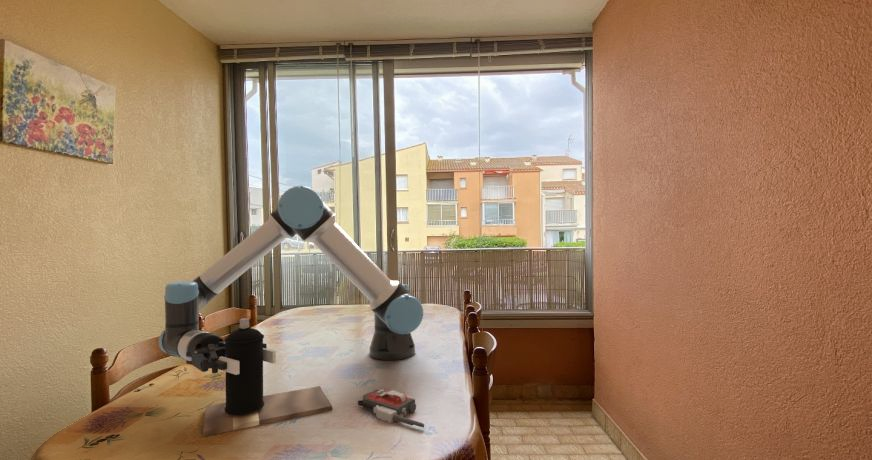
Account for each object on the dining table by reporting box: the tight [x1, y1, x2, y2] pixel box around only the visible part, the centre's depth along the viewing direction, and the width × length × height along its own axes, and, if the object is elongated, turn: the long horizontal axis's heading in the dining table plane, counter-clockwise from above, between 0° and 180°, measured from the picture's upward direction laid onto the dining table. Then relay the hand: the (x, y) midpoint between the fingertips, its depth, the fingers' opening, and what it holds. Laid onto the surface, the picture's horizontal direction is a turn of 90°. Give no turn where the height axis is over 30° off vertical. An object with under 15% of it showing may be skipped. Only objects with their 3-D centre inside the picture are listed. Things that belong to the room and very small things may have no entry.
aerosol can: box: [223, 317, 265, 415], centre depth 95 cm, size 8×8×20 cm
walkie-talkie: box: [357, 388, 425, 429], centre depth 95 cm, size 9×4×20 cm
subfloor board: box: [202, 385, 333, 437], centre depth 97 cm, size 26×14×1 cm, turn 117°
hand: (256, 362), depth 92 cm, fingers closed on aerosol can, 8 cm apart
